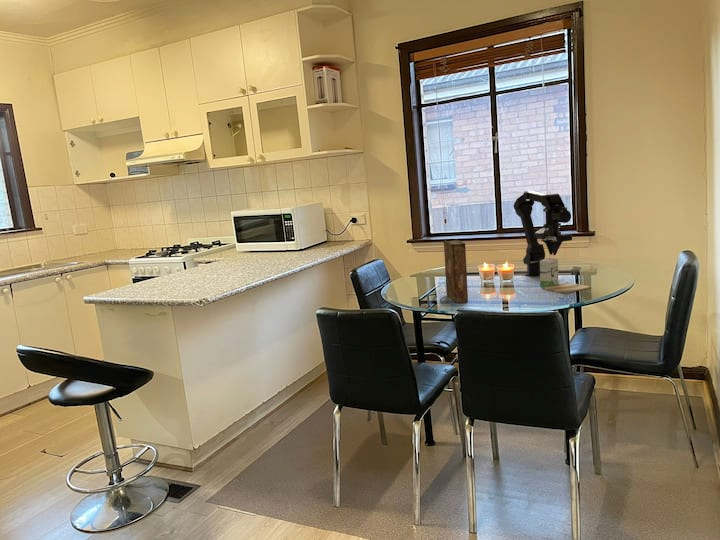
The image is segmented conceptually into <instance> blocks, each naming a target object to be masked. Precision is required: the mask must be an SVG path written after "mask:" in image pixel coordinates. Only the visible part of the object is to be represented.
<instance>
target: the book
mask: <svg viewBox="0 0 720 540" xmlns="http://www.w3.org/2000/svg"><path fill="white" fill-rule="evenodd" d="M443 248H444V249H443V251H444V253H443V255H444V268H445V290H446V291H445V292H446V296H447V297H448V298H449V299H451V301H453V302H454V303H455V304H464V303H466V304H467V303H468V302H469V299H468V298H469V297H468V290H469V289H468V274H467V273H468V271H467V251H466V250H467V249H466V243H465V242H463V241H461V240H458V239H454V240H453V239H452V240H443Z"/></svg>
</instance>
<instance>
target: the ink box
mask: <svg viewBox="0 0 720 540" xmlns="http://www.w3.org/2000/svg"><path fill="white" fill-rule="evenodd" d="M539 283H540V285H539V286H540V287H548V286H553V285H558V284H559V258H550V257H548V258H545V259H544V260H541V261H540V276H539Z"/></svg>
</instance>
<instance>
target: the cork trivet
mask: <svg viewBox="0 0 720 540" xmlns="http://www.w3.org/2000/svg"><path fill="white" fill-rule="evenodd" d="M591 288H592V286H590V285H583V284H578V283H573V282H564V283H558V284H556V285H553V286H548V287H544V286H542V290H546V291H549V292H555V293H560V294H563V295H565V294H571V293H575V292H579V291H585V290H588V289H591Z"/></svg>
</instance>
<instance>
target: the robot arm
mask: <svg viewBox="0 0 720 540" xmlns="http://www.w3.org/2000/svg"><path fill="white" fill-rule="evenodd" d="M535 202H537V203H540V204H541V206H543V207H544V209H542V211H543V212H544V213H545V223H544V224H542V225H543V227H542V228H540V229H538V230H537V231H536V230H535V226H534V223H533V218H532V211H533V206H534V204H535ZM513 209H514V211H515V214H516V215H517V216H518V217H519V218H520V220H521V224H522V228H523V232H524V236H525V239H526V244H527V247H526V249H525V254H526V255H525V256H524V257H523V259H522V261H523V264H524V265H526V269H527V270H526V271H527V273H525V274H524V276H526V277H532V278H536V277H540V261H541V260H544V259H546V250H545V249H544V244H545V246H546V248H547V251H548V253H549V255H550V256H552V255H553V256H556V255H557V253H558V251H559V249H560V246H561V245H562V243H563V242H564V243H565V242H569V241H573V235H572V233H571V234H570V233H562V232H561V231H560V226H562V225H561V224H562V223H563V224H567V223H568V222H570V221H571V219H572V214H571V212H570V210H568V207H566V205H565V203H564V200H563V199H562V197H561V195H560V194H559V193H551V194H550V193H548V194H547V193H542V192H538V191H535V190H526V191H524V192H523V194H522V195H520V196H518V197H517V198H516V199H515V201H514V203H513ZM538 240H541V242H543V243H544V244H543V243H542V244H540V243H539V241H538Z"/></svg>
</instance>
